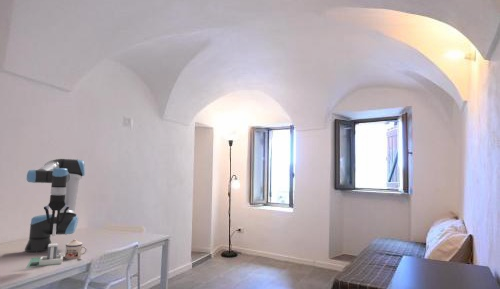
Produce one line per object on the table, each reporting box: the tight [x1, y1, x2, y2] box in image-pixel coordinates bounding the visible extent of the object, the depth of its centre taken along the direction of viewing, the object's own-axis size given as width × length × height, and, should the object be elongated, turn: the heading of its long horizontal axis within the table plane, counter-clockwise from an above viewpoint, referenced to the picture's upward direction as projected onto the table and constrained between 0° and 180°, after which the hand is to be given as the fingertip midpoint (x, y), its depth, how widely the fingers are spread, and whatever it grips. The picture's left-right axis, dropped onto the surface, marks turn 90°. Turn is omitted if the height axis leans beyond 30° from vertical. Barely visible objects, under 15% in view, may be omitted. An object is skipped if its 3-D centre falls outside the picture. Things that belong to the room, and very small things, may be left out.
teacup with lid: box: [64, 238, 88, 260], centre depth 195 cm, size 12×9×12 cm
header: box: [39, 254, 64, 265], centre depth 181 cm, size 8×11×3 cm
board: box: [26, 252, 62, 268], centre depth 182 cm, size 18×16×3 cm
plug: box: [46, 243, 59, 259], centre depth 181 cm, size 5×4×10 cm
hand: (53, 235), depth 182 cm, fingers closed
